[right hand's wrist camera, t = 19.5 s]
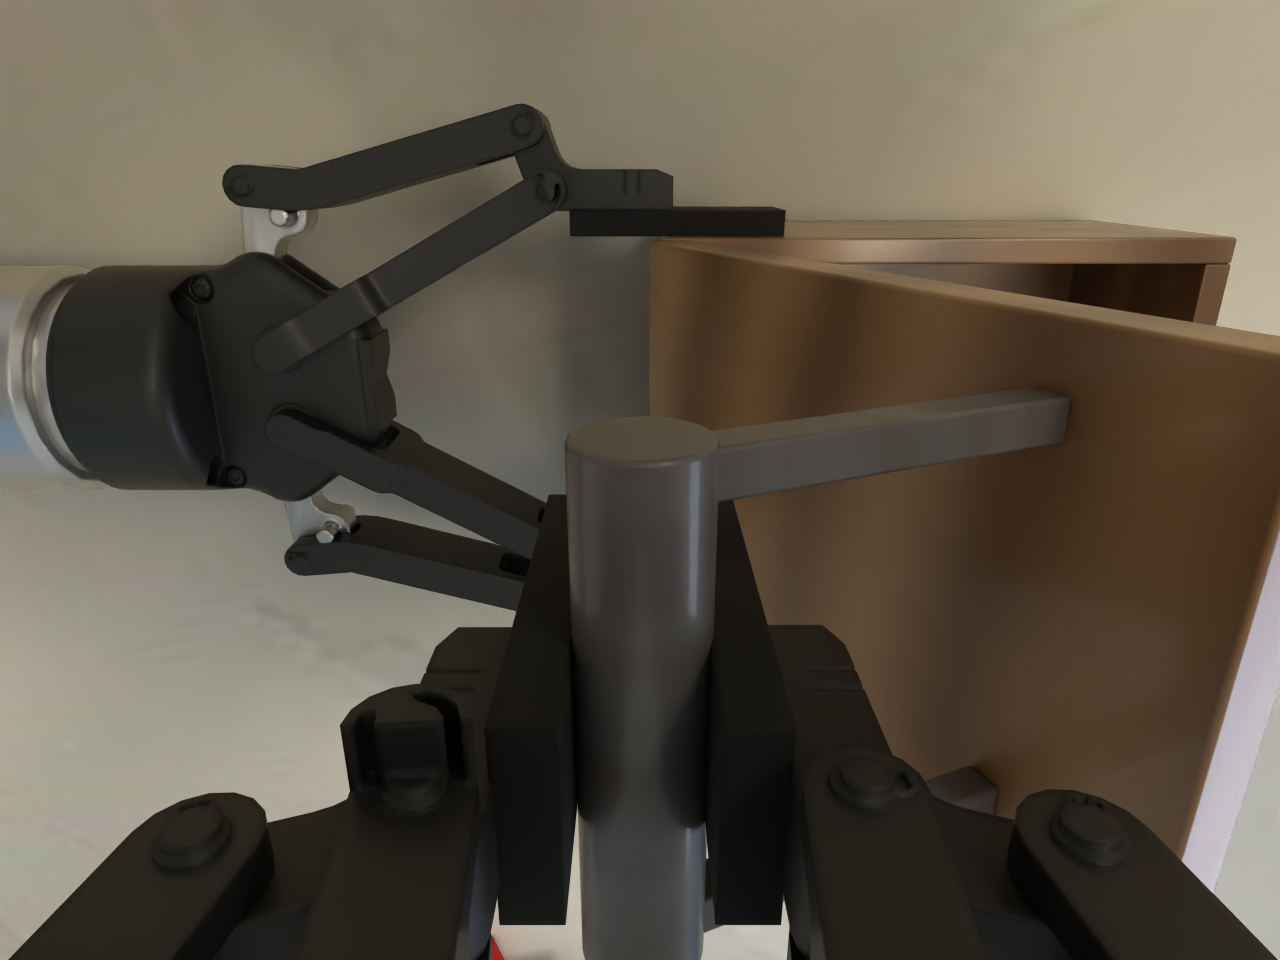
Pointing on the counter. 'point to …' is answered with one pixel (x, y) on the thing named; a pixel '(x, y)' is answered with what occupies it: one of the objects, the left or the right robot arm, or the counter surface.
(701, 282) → the lid
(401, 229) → the counter surface
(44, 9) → the counter surface
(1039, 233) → the chest
